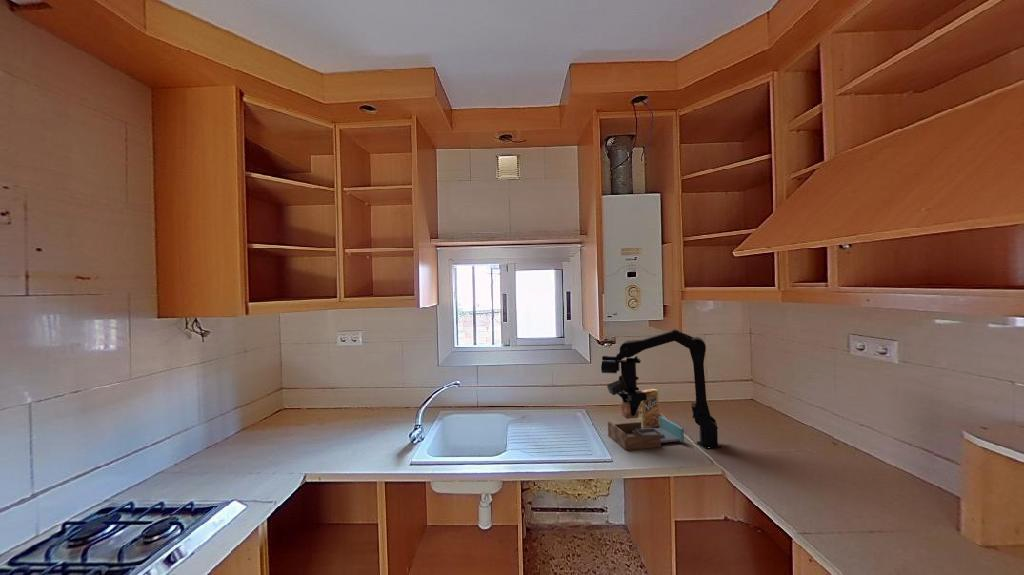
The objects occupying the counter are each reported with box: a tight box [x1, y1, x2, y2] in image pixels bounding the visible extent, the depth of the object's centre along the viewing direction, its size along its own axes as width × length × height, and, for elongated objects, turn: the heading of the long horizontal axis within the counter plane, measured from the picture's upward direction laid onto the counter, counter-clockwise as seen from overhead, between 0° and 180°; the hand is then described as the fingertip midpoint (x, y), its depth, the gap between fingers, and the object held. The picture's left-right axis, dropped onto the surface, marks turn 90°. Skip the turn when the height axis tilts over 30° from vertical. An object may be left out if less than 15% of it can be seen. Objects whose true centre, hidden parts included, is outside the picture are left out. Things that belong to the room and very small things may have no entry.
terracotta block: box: [620, 401, 639, 420], centre depth 181 cm, size 5×5×5 cm
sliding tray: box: [631, 415, 685, 444], centre depth 179 cm, size 16×14×5 cm
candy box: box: [636, 388, 660, 429], centre depth 195 cm, size 9×4×15 cm, turn 116°
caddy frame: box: [607, 421, 662, 451], centre depth 178 cm, size 16×14×6 cm
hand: (630, 413), depth 181 cm, fingers closed on terracotta block, 5 cm apart
